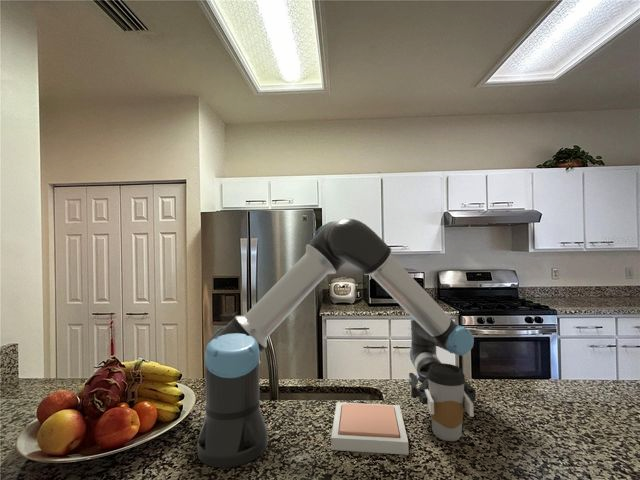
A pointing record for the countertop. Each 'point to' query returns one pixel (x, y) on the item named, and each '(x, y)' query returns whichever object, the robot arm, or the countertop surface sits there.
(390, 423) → the button
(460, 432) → the coffee cup
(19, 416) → the countertop surface
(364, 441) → the button housing
